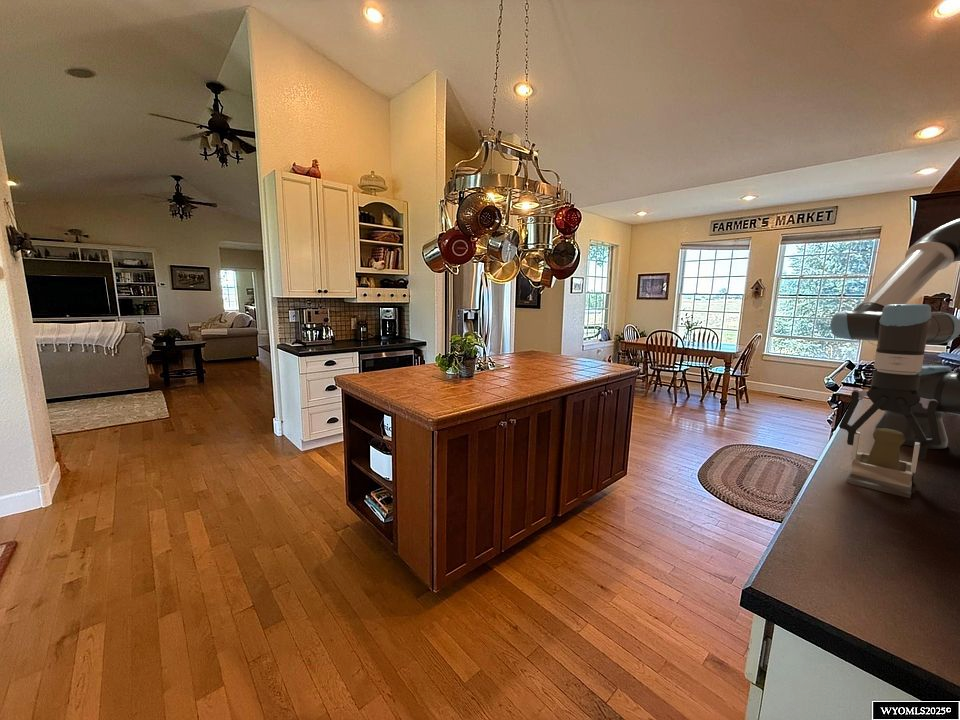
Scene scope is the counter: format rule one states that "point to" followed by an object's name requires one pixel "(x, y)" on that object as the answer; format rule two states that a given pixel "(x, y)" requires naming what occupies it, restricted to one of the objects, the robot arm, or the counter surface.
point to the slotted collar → (881, 476)
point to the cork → (886, 448)
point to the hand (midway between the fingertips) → (882, 464)
